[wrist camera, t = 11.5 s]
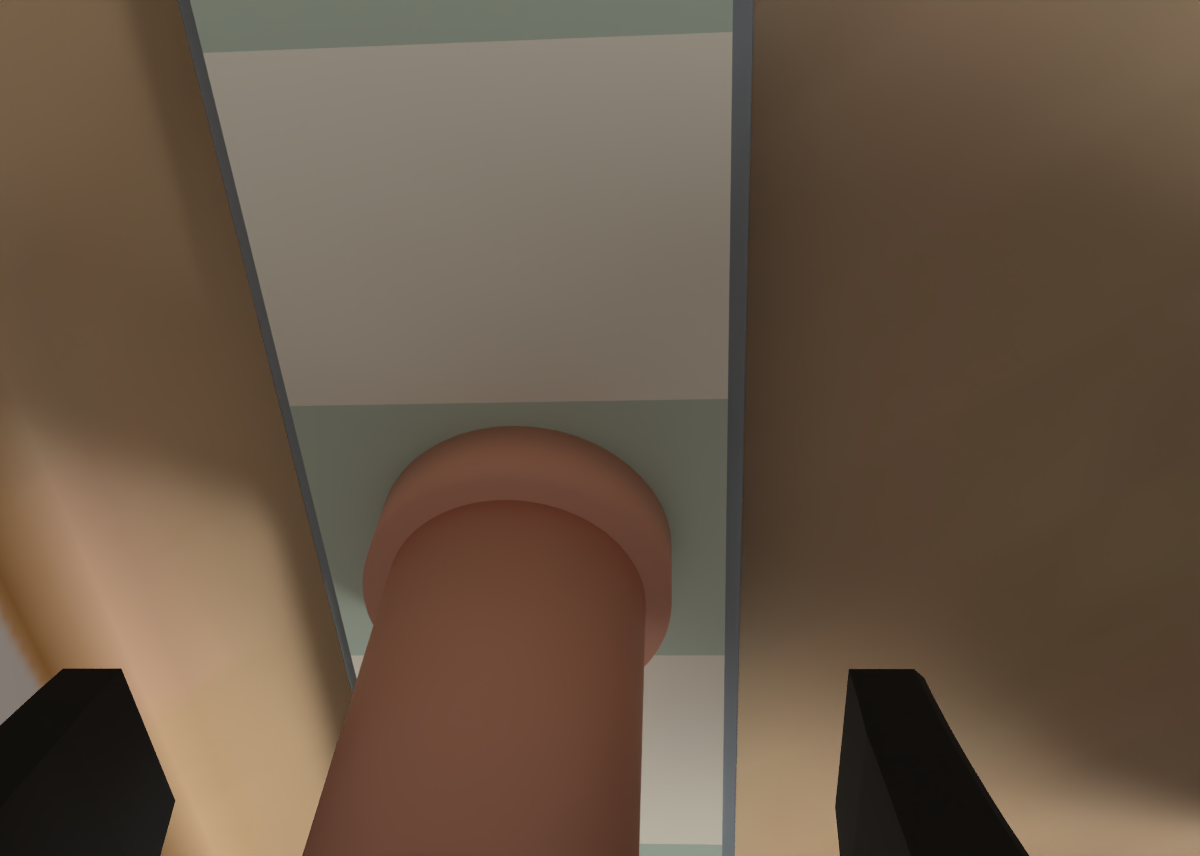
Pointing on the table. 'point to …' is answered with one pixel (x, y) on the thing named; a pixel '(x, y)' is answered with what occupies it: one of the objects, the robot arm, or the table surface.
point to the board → (509, 284)
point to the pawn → (503, 656)
